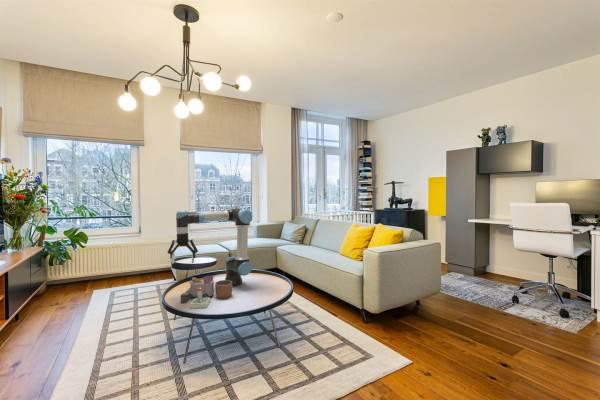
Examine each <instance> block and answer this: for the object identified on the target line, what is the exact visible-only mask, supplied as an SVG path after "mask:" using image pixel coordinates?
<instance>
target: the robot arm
mask: <svg viewBox="0 0 600 400" xmlns="http://www.w3.org/2000/svg"><path fill="white" fill-rule="evenodd" d="M175 213H176V214H175V218H176V221H175V222H176V240H175V239H172V240H171V244H170V247H169V249H168V250H167V254H169V255H170V259H171V264H172V265H173V264H175V252H176V250H177V249H178V248H179V247H186V248H187V249H188V250H189V251H190V252H191V264H194V263H195V259H196V253H199V250H198V248H197V247H196V245H195V242H194V239H193V238H192V239H189V225H191V224H192V225H193V224H203V223H204V222H212V221H224V222H233V223H235V224H234V225H235V227H236V230H237V231H236V256H235V255H233V256H228V257H227V258H226V260H225V269H226V270H225V271H226V273H225V274H226V275H225V279H224V280H230V281H232V287H238V286H240V285H242V284H243V278H242V276H244V277H245V276H247V275H249V273H251V272H252V270H253V266H252V263H251V262H250V257H249V256H248V248H249V247H248V245H249V244H248V241H249V239H248V238H249V233H248V232H249V227H250V225H251V222H252V221H253V213H252V211H251V210H250V209H249V208H248V209H247V208H238V207H237V208H231V209H224V210H216V211H215V210H211V211H187V210H178V211H176V212H175ZM175 244H176V245H175ZM190 244H191V245H190ZM174 246H175V247H174ZM173 247H174V248H173Z"/></svg>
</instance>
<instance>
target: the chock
mask: <svg viewBox="0 0 600 400" xmlns="http://www.w3.org/2000/svg"><path fill="white" fill-rule="evenodd" d="M189 301H190V299H189V293H185V292H181V294H180V304H187V303H188V302H189Z"/></svg>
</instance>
